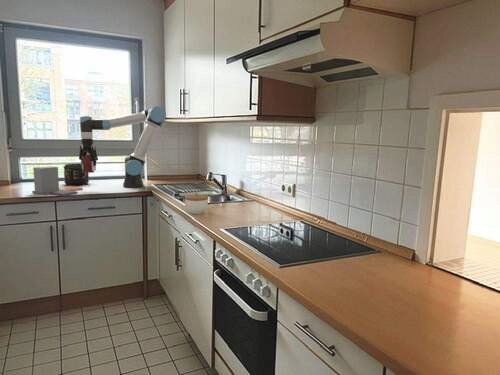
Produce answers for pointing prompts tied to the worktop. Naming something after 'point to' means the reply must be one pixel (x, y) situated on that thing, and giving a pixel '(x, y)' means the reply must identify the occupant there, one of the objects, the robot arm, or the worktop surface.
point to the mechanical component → (87, 164)
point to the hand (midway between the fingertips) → (89, 170)
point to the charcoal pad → (64, 193)
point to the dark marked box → (75, 175)
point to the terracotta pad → (70, 188)
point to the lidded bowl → (196, 203)
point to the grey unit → (46, 180)
